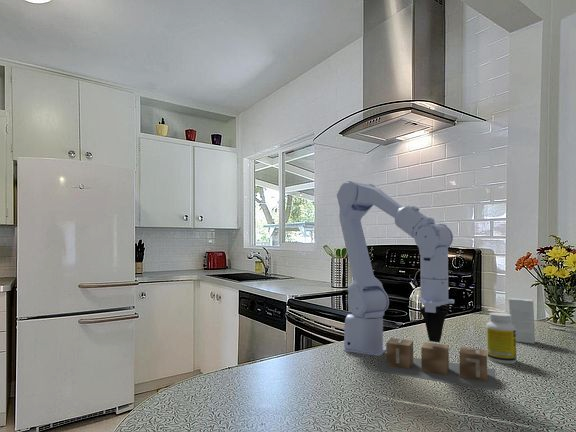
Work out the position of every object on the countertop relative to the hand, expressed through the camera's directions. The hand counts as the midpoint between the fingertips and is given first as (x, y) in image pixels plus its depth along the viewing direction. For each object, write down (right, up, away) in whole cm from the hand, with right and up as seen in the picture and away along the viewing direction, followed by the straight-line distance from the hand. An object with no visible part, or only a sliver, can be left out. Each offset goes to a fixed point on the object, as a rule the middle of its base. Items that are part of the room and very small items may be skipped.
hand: (434, 341), depth 83 cm
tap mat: (0, -6, 0) cm, 6 cm away
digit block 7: (+7, -6, -4) cm, 10 cm away
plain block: (0, -6, 0) cm, 6 cm away
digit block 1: (-7, -6, +3) cm, 10 cm away
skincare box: (+36, -9, +27) cm, 46 cm away
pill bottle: (+19, -7, +8) cm, 22 cm away
